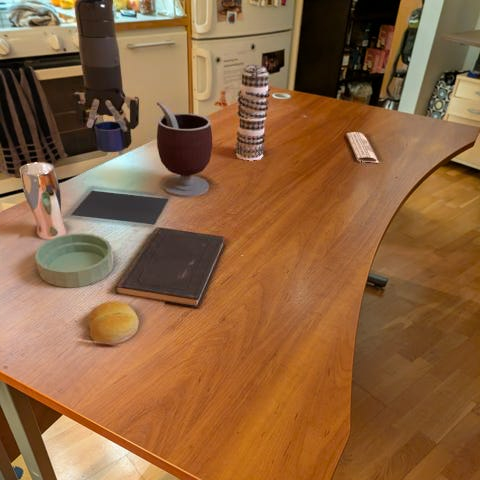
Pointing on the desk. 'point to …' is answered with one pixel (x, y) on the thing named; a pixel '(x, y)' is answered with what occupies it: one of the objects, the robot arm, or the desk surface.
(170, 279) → the hardcover book
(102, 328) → the bread roll
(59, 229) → the beer glass
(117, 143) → the small cup
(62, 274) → the big bowl
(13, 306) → the desk surface
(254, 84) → the patterned cylindrical tower
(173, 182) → the mate gourd
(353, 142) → the newspaper
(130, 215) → the mat
